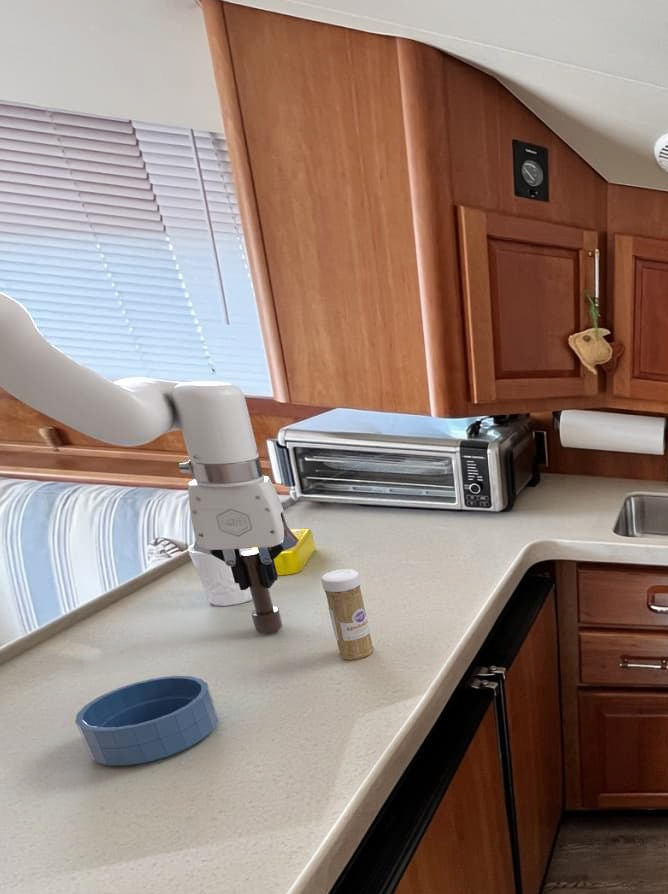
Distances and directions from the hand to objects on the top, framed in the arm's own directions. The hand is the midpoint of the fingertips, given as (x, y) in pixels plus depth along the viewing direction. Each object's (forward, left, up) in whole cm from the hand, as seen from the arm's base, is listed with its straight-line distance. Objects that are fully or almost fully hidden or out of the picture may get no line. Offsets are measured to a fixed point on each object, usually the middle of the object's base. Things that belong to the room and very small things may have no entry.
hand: (258, 584), depth 99 cm
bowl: (-5, -27, -8) cm, 29 cm away
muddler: (0, 0, -8) cm, 8 cm away
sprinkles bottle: (+13, -11, -8) cm, 19 cm away
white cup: (-9, +15, -8) cm, 19 cm away
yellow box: (-9, +31, -8) cm, 33 cm away
